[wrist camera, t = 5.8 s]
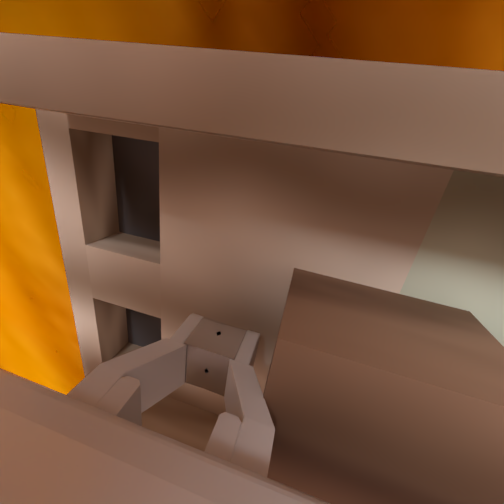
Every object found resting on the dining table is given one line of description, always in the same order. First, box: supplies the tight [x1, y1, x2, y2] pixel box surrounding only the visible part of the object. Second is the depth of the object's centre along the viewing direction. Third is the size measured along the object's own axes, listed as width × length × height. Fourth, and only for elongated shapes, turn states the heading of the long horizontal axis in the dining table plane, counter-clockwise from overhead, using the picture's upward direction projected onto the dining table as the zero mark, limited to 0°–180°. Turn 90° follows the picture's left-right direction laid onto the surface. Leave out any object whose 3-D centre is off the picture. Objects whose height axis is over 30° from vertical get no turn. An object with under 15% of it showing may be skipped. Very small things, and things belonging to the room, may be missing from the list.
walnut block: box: [263, 268, 504, 504], centre depth 8 cm, size 6×6×4 cm
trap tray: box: [0, 32, 504, 504], centre depth 10 cm, size 17×22×6 cm
